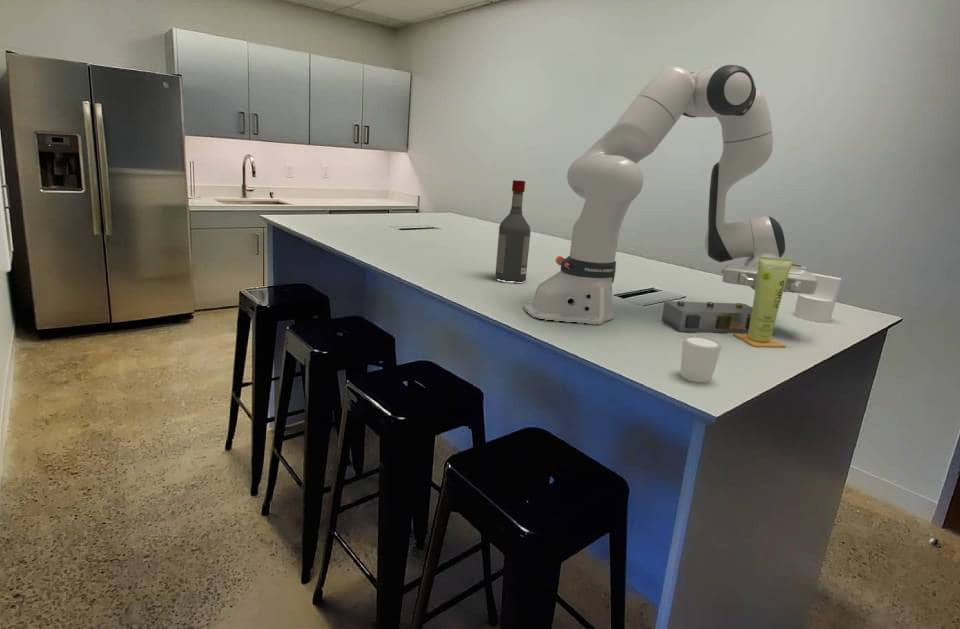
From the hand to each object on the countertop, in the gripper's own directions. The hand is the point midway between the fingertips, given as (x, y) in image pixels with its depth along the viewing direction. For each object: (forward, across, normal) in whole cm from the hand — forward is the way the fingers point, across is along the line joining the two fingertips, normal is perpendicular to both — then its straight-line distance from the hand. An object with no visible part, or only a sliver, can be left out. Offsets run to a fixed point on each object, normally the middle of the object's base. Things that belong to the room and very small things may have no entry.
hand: (771, 285), depth 128 cm
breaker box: (-5, -11, +13) cm, 18 cm away
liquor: (-21, -69, +13) cm, 73 cm away
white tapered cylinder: (+34, -14, +13) cm, 39 cm away
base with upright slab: (-32, +16, +14) cm, 38 cm away
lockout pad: (+2, 0, +13) cm, 13 cm away
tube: (+1, 0, +13) cm, 13 cm away
